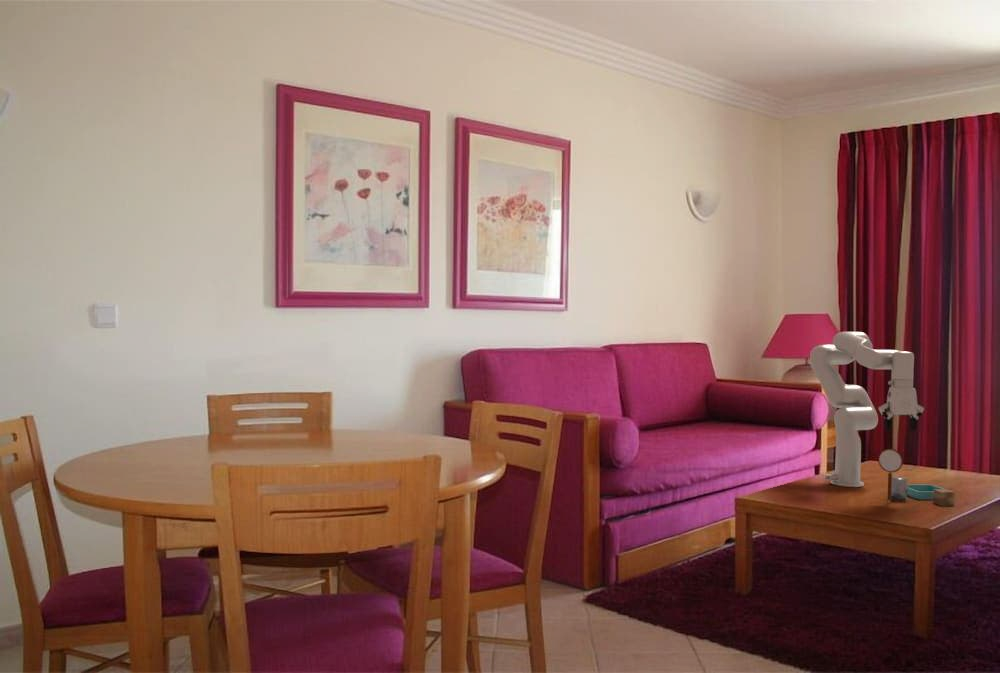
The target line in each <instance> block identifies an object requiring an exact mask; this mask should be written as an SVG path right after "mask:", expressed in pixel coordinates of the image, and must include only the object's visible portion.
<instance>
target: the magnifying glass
mask: <svg viewBox="0 0 1000 673" xmlns="http://www.w3.org/2000/svg"><path fill="white" fill-rule="evenodd" d="M877 462H878V465H879V466H880V468H881V469H882V470H884V471H885V472H887V474H888V475H887V476H888V477H887V502H888V503H891V501H892V500H891V484H892V477H893V474H892V473H896V472H898V471H900V469H901V468H902V466H903V463H904V459H903V456H902V455H901V453H900V452H899V451H898V450H896V449H893V448H886V449H884V450H882V451H881V452H880V453H879V454H878V459H877Z"/></svg>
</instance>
